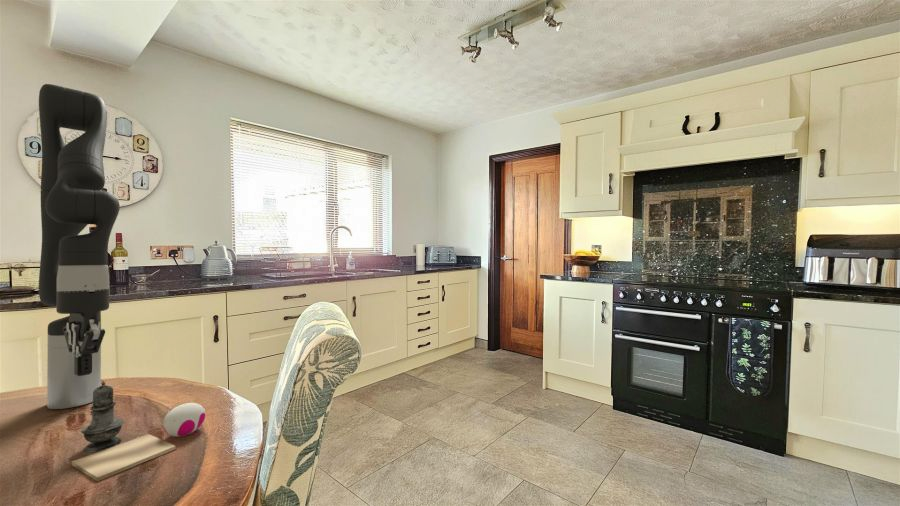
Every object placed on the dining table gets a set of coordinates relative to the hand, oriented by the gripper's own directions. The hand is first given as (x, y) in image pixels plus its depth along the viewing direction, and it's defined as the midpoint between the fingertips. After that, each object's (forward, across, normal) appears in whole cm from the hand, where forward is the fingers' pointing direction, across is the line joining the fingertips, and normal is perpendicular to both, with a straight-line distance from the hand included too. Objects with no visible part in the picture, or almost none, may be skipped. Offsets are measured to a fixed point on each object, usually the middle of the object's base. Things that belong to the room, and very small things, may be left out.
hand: (83, 374), depth 74 cm
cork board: (+12, +18, 0) cm, 21 cm away
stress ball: (+12, +18, +10) cm, 24 cm away
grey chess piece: (+12, +9, 0) cm, 15 cm away
